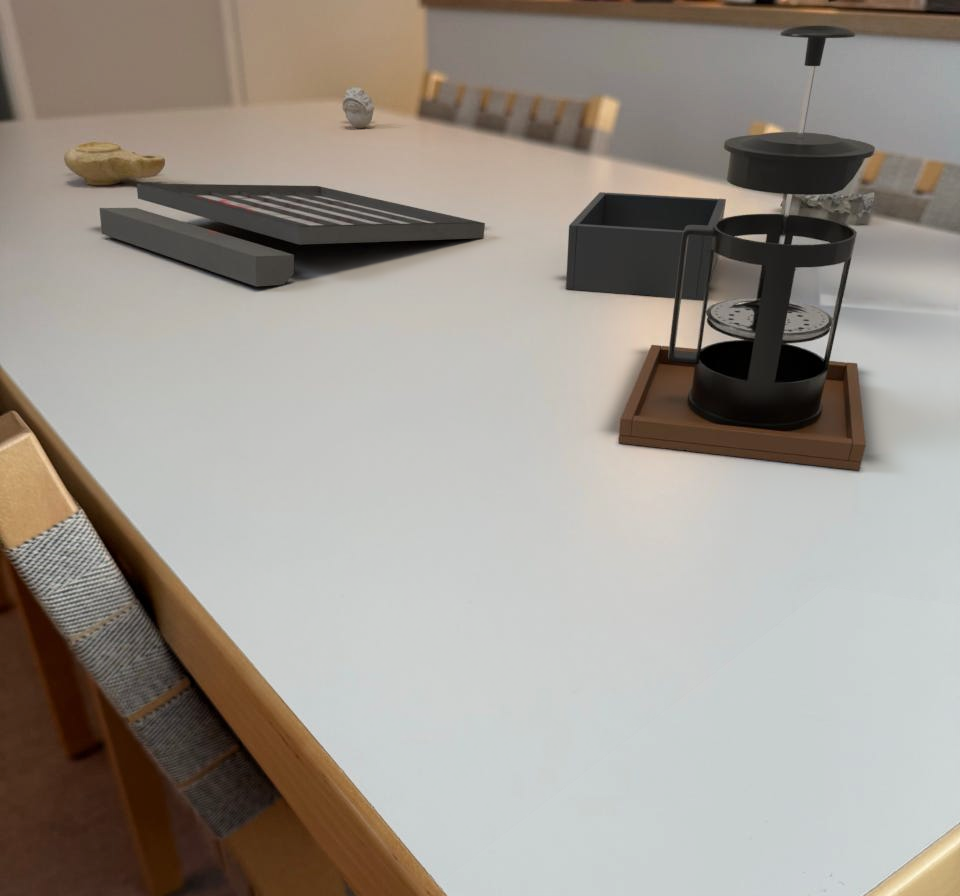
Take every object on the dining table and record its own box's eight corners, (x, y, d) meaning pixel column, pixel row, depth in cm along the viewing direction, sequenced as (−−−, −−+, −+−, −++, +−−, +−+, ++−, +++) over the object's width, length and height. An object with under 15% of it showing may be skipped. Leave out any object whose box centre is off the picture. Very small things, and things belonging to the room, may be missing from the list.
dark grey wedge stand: (318, 241, 133) (103, 248, 113) (317, 185, 130) (95, 182, 110) (482, 272, 114) (259, 287, 94) (485, 207, 111) (255, 209, 91)
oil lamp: (169, 187, 137) (162, 149, 134) (63, 192, 135) (54, 152, 132) (170, 174, 146) (164, 137, 143) (71, 178, 143) (63, 141, 140)
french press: (828, 389, 71) (908, 22, 58) (834, 439, 64) (928, 31, 51) (669, 376, 74) (710, 20, 60) (657, 422, 66) (702, 29, 53)
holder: (717, 258, 105) (726, 199, 102) (704, 300, 92) (712, 234, 89) (595, 249, 108) (599, 192, 105) (565, 289, 95) (568, 225, 92)
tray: (852, 385, 74) (857, 362, 73) (859, 470, 61) (866, 444, 60) (649, 366, 77) (651, 344, 76) (618, 443, 65) (620, 418, 64)
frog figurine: (337, 130, 184) (334, 88, 180) (353, 125, 189) (350, 84, 185) (366, 131, 182) (364, 89, 178) (381, 126, 188) (379, 85, 184)
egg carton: (773, 228, 117) (778, 191, 115) (784, 216, 123) (790, 181, 120) (864, 236, 113) (872, 198, 111) (871, 223, 119) (879, 187, 116)
